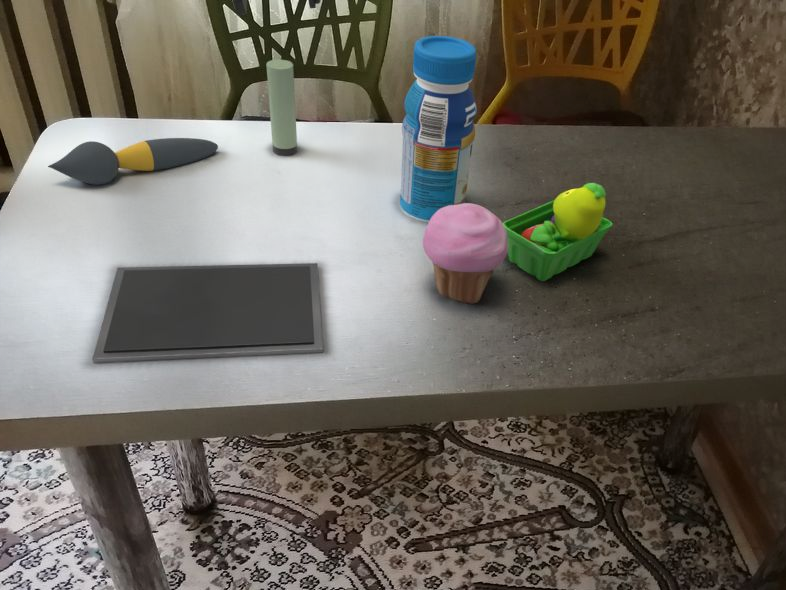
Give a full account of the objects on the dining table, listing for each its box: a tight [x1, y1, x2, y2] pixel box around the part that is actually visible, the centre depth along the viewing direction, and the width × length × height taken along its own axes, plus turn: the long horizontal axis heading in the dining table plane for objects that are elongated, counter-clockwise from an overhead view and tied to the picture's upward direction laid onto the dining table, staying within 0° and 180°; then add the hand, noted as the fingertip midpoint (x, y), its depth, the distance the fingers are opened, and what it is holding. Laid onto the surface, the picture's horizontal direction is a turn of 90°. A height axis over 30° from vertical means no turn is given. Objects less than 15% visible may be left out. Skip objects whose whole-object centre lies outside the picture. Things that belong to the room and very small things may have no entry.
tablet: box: [91, 262, 324, 364], centre depth 73 cm, size 20×14×1 cm
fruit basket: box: [502, 182, 613, 282], centre depth 83 cm, size 11×9×11 cm
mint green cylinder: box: [266, 58, 298, 157], centre depth 96 cm, size 3×3×12 cm
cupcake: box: [422, 202, 508, 305], centre depth 77 cm, size 9×9×10 cm
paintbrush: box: [47, 137, 219, 186], centre depth 91 cm, size 20×5×5 cm, turn 134°
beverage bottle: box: [399, 35, 478, 223], centre depth 86 cm, size 8×8×20 cm
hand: (276, 4), depth 91 cm, fingers open, 8 cm apart
